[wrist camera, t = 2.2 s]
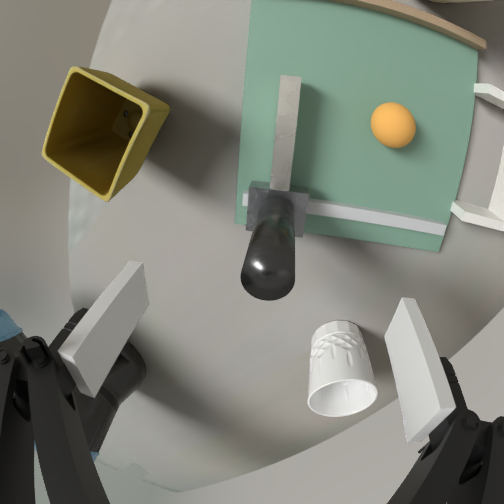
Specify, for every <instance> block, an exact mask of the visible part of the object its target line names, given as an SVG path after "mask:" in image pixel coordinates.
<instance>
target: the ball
mask: <svg viewBox="0 0 504 504" xmlns="http://www.w3.org/2000/svg"><path fill="white" fill-rule="evenodd" d="M371 129H372V132H373V134H374V136H375V137H376V139H377V140H378V141H379V142H380V143H382V144H383V145H385V146H387V147H391V148H400V147H403V146H405V145H407V144H408V143H410V142H411V140H412V139H413V137H414V135H415V131H416V124H415V120H414V117H413V116H412V114H411V112H410V111H409V110H408V109H407V108H406V107H404V106H403V105H401V104H398V103H394V102H388V103H384V104H381V105H380V106H378V107H377V108H376V109H375V110H374V112H373V114H372V116H371Z"/></svg>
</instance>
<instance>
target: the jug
mask: <svg viewBox="0 0 504 504" xmlns="http://www.w3.org/2000/svg"><path fill="white" fill-rule="evenodd" d="M429 1H433V2H438V3H451V2H454V3H461V2H473V1H492V0H429Z"/></svg>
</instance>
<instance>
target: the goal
mask: <svg viewBox="0 0 504 504" xmlns="http://www.w3.org/2000/svg"><path fill="white" fill-rule="evenodd" d="M474 93H475V95H476V96H478V97H480V98H482V99H484V100H486V101H488V102H490V103H492V104H494V105H496V106H498V107H500V108H502V109H504V91H502V90H500V89H498V88H496V87H494V86H493V85H491V84H480V83H474ZM450 211H452V212H453V213H454V214H455V215H456V216H457V217H458V218H460V219H461V220H462V221H464V222H469V223H473V224H477V225H481V226H485V227H488V228H492V229H496V230H500V231H503V232H504V147H503V152H502V157H501V162H500V166H499V171H498V175H497V179H496V183H495V187H494V191H493V194H492V198H491V201H490V205H489V208H488V209H486V208H483V207H480V206H476V205H473V204H469V203H466V202H462V201H458V200H455V202H453V203H452V206H451V209H450Z"/></svg>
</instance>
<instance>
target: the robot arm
mask: <svg viewBox="0 0 504 504" xmlns="http://www.w3.org/2000/svg"><path fill="white" fill-rule="evenodd" d="M148 305H149V300H148V294H147V288H146V281H145V274H144V267H143V262H137V261H131V260H130V261H129V262H128V263H127V264H126V266H125V267H124V268H123V269H122V270H121V271H120V273H119V274H118V275H117V276H116V277H115V278H114V280H113V281H112V282H111V283H110V284H109V286H108V287H107V288H106V289H105V290H104V292H103V293H102V294H101V295H100V297H99V298H98V299H97V300H96V301H95V303H94V304H93V305H92V306H91V308H90V309H85V308H82V309H81V310H79V311H78V312H76V313H75V314H74V315H73V316H72V317H71V319H70V320H69V322H68V323H67V324H66V325H65V326H64V329H62V330H61V331H60V333H59V334H58V335H57V336H56V338H55V339H54V340H53V342H52V343H51V344H50V346H49V347H48V346H47V344H46V342H45V340H44V339H43V338H42V337H39V336H32V337H30V338H27V337H26V336H25V335H24V333H23V332H22V331H23V330H22V328H20V327H18V326H17V325H16V323H15V322H14V321H13V320H12V318H10V316H9V315H8V314H7V313H6V312H5V311H4V310H2V309H0V504H35V489H34V450H35V451H37V454H38V459H39V463H40V468H41V472H42V476H43V480H44V483H45V487H46V490H47V494H48V497H49V500H50V504H110V503H109V500H108V498H107V496H106V493H105V491H104V488H103V486H102V483H101V481H100V478H99V476H98V473H97V470H96V467H95V465H94V461H95V459H96V457H97V456H98V455H99V450H100V448H101V446H102V444H103V441H104V439H105V437H106V434H107V432H108V430H109V428H110V425H111V423H112V421H113V419H114V416H115V414H116V412H117V410H118V408H119V406H120V404H121V403H122V402H123V401H124V400H125V399H126V398H128V397H129V396H130V395H131V394H132V393H133V392H134V391H135V390H136V389H137V388H138V387H139V386H140V385H141V383H142V381H143V379H144V376H145V374H146V367H145V364H144V361H143V360H142V358H141V356H140V355H139V354H138V352H137V351H136V350H135V349H134V348H133V347H132V346H131V345H130V344H129V343H128V342H127V340H128V338H129V337H130V335H131V333H132V332H133V330H134V328H135V327H136V325H137V323H138V322H139V320H140V318H141V317H142V315H143V314H144V312H145V310H146V309H147V307H148ZM384 338H385V341H386V345H387V349H388V353H389V357H390V361H391V365H392V370H393V374H394V378H395V383H396V388H397V392H398V397H399V401H400V407H401V412H402V417H403V423H404V429H405V435H406V441H407V443H411V442H420V441H422V440H424V439H425V438H426V437H427V436H428V435H429V439H430V441H429V442H428V443H427V444H426V445H425V446H424V447H423V448H422V449H420V450H419V451H418V453H421V452H422V453H421V455H420V456H419V458H418V460H417V462H416V463H415V464H414V466H413V468H412V469H411V471H410V472H409V474H408V475H407V477H406V478H405V480H404V481H403V483H402V484H401V485H400V487H399V488H398V490H397V491H396V492H395V494H394V495H393V496H392V498H391V499H390V500H389V502H388V503H387V504H446V503H447V504H504V417H502V416H500V417H498V418H497V419H496V420H495V421H494V422H492V423H491V422H486V421H481V420H480V419H479V417H478V416H477V414H476V413H474V412H473V411H471V410H468V409H467V406H466V403H465V400H464V397H463V394H462V391H461V388H460V385H459V383H458V380H457V377H456V376H455V372H454V369H453V366H452V364H451V363H450V362H449V361H448V359H447V358H446V357H439V355H438V353H437V350H436V348H435V345H434V343H433V340H432V338H431V335H430V333H429V330H428V328H427V326H426V323H425V321H424V318H423V316H422V314H421V312H420V309H419V307H418V305H417V303H416V301H415V299H414V298H404V297H402V298H401V301H400V303H399V305H398V308H397V310H396V312H395V314H394V317H393V319H392V321H391V323H390V325H389V327H388V330H387V332H386V334H385V336H384Z"/></svg>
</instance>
